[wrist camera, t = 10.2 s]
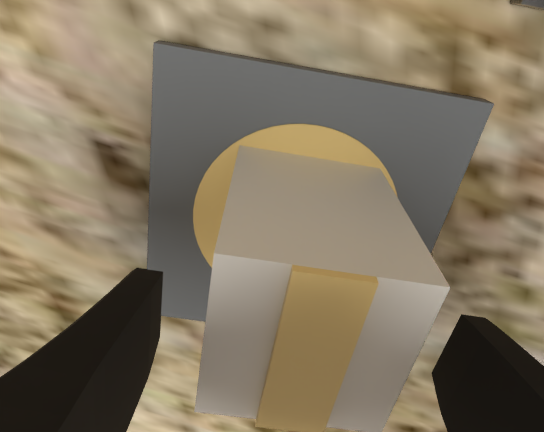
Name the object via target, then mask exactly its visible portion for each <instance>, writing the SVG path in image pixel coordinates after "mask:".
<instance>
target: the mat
mask: <svg viewBox="0 0 544 432" xmlns="http://www.w3.org/2000/svg"><path fill="white" fill-rule="evenodd" d="M493 106H494V104H493V103H491V102H489V101H487V100H485V99H481V98H475V97H470V96H464V95H458V94H453V93H447V92H442V91H436V90H431V89H425V88H420V87H414V86H408V85H403V84H397V83H392V82H386V81H381V80H375V79H370V78H364V77H359V76H353V75H347V74H342V73H336V72H331V71H325V70H320V69H314V68H309V67H303V66H298V65H292V64H286V63H281V62H275V61H270V60H264V59H259V58H253V57H248V56H242V55H236V54H231V53H225V52H220V51H214V50H209V49H203V48H198V47H192V46H187V45H181V44H175V43H170V42H164V41H157V42H154V48H153V82H152V117H151V151H150V185H149V220H148V254H147V269H148V270H155V271H162V272H163V287H162V305H161V316H167V317H174V318H182V319H190V320H197V321H205V322H206V314H207V306H208V297H209V289H210V281H211V273H212V265H213V257H214V251H215V247H216V242H217V238H218V234H219V230H220V225H221V221H222V217H223V213H224V209H225V204H226V200H227V196H228V192H229V187H230V183H231V179H232V175H233V171H234V166H235V162H236V158H237V154H238V149H239V145H242V146H248V147H254V148H260V149H266V150H272V151H278V152H284V153H290V154H296V155H302V156H308V157H314V158H320V159H327V160H333V161H339V162H345V163H351V164H357V165H363V166H369V167H375V168H380V169H381V171H382V172H383V174H384V176H385V177H386V179H387V181H388V183H389V184H390V186H391V188H392V189H393V191H394V193H395V194H396V196H397V198H398V200H399V201H400V203H401V205H402V206H403V208H404V210H405V211H406V213H407V215H408V216H409V218H410V220H411V222H412V223H413V225H414V227H415V228H416V230H417V232H418V233H419V235H420V237H421V239H422V240H423V242H424V244H425V245H426V247H427V249H428V250H429V252H430V254H431V252H432V249H433V247H434V245H435V242H436V240H437V237H438V235H439V233H440V230H441V228H442V226H443V223H444V221H445V219H446V216H447V214H448V212H449V209H450V207H451V204H452V202H453V200H454V197H455V195H456V193H457V190H458V188H459V186H460V183H461V181H462V179H463V176H464V174H465V171H466V169H467V167H468V164H469V162H470V160H471V157H472V155H473V153H474V150H475V148H476V146H477V143H478V141H479V139H480V136H481V134H482V131H483V129H484V127H485V124H486V122H487V120H488V117H489V115H490V113H491V110H492V108H493Z"/></svg>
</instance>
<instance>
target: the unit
mask: <svg viewBox="0 0 544 432" xmlns="http://www.w3.org/2000/svg"><path fill="white" fill-rule="evenodd" d="M510 3H511V4H516V5H521V6H526V7H531V8H536V9H541V10H544V0H511V2H510Z"/></svg>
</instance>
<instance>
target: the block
mask: <svg viewBox="0 0 544 432" xmlns="http://www.w3.org/2000/svg"><path fill="white" fill-rule="evenodd" d="M449 289H450V286H449V284H448V283H447V281H446V279H445V278H444V276H443V274H442V272H441V271H440V269H439V267H438V266H437V264H436V262H435V261H434V259H433V257H432V255H431V254H430V252H429V250H428V249H427V247H426V245H425V244H424V242H423V240H422V239H421V237H420V235H419V233H418V232H417V230H416V228H415V227H414V225H413V223H412V222H411V220H410V218H409V216H408V215H407V213H406V211H405V210H404V208H403V206H402V205H401V203H400V201H399V200H398V198H397V196H396V194H395V193H394V191H393V189H392V188H391V186H390V184H389V183H388V181H387V179H386V177H385V176H384V174H383V172H382V171H381V169H380V168H375V167H369V166H363V165H357V164H351V163H345V162H339V161H333V160H327V159H320V158H314V157H308V156H302V155H296V154H290V153H284V152H278V151H272V150H266V149H260V148H254V147H248V146H242V145H239V149H238V154H237V158H236V162H235V166H234V171H233V175H232V179H231V183H230V187H229V192H228V196H227V200H226V204H225V209H224V213H223V217H222V221H221V225H220V230H219V234H218V238H217V242H216V247H215V251H214V257H213V265H212V273H211V281H210V289H209V297H208V306H207V314H206V322H205V330H204V338H203V346H202V355H201V363H200V371H199V379H198V387H197V395H196V404H195V412H200V413H209V414H217V415H226V416H234V417H243V418H252V419H256V427H261V428H270V429H278V430H287V431H296V432H324V431H325V428H326V427H329V428H337V429H346V430H355V431H363V432H382V430H383V428H384V426H385V424H386V422H387V420H388V418H389V416H390V413H391V411H392V409H393V407H394V405H395V403H396V401H397V399H398V397H399V395H400V392H401V390H402V388H403V386H404V384H405V382H406V380H407V378H408V376H409V373H410V371H411V369H412V367H413V365H414V363H415V361H416V359H417V357H418V355H419V352H420V350H421V348H422V346H423V344H424V342H425V340H426V338H427V336H428V334H429V331H430V329H431V327H432V325H433V323H434V321H435V319H436V317H437V315H438V313H439V310H440V308H441V306H442V304H443V302H444V300H445V298H446V296H447V294H448V291H449Z"/></svg>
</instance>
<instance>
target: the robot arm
mask: <svg viewBox="0 0 544 432" xmlns="http://www.w3.org/2000/svg"><path fill="white" fill-rule="evenodd" d="M162 287H163V272H162V271H155V270H148V269H141V268H136V269H134V270H133V271H131V272H130V273H129V274H128V275H127V276H126V277H125V278H124V279H123V280H122V281H121V282H120V283H119V284H117V285H116V286H115V287H114V288H113V289H112V290H111V291H110V292H109V293H108V294H106V295H105V296H104V297H103V298H102V299H101V300H100V301H99V302H97V303H96V304H95V305H94V306H93V307H92V308H90V309H89V310H88V311H87V312H86V313H84V314H83V315H82V316H81V317H80V318H78V319H77V320H76V321H75V322H74V323H73V324H71V325H70V326H69V327H68V328H66V329H65V330H64V331H63V332H61V333H60V334H59V335H57V336H56V337H55V338H53V339H52V340H51V341H50V342H48V343H47V344H46V345H44V346H43V347H42V348H40V349H39V350H38V351H36V352H35V353H34V354H32V355H31V356H30V357H28V358H27V359H26V360H24V361H23V362H21V363H20V364H19V365H17V366H16V367H14V368H13V369H11V370H10V371H9V372H7V373H6V374H4V375H3V376H1V377H0V432H126V431H127V429H128V426H129V424H130V421H131V419H132V417H133V414H134V412H135V409H136V407H137V404H138V402H139V399H140V397H141V394H142V392H143V389H144V387H145V384H146V382H147V379H148V377H149V373H150V370H151V366H152V363H153V359H154V356H155V352H156V349H157V345H158V342H159V338H160V324H161V305H162ZM432 376H433V381H434V386H435V390H436V395H437V399H438V403H439V407H440V411H441V414H442V417H443V420H444V423H445V426H446V428H447V431H448V432H544V366H543V365H542V364H540V363H539V362H538V361H537V360H536V359H535V358H534V357H532V356H531V355H530V354H529V353H528V352H527V351H525V350H524V349H523V348H522V347H521V346H520V345H518V344H517V343H516V342H515V341H514V340H513V339H511V338H510V337H509V336H508V335H507V334H505V333H504V332H503V331H502V330H500V329H499V328H498V327H497V326H495V325H494V324H493V323H492V322H490V321H489V320H488V319H486V318H482V317H475V316H469V315H462V314H461V316H460V318H459V320H458V322H457V324H456V326H455V328H454V330H453V332H452V334H451V336H450V338H449V340H448V342H447V344H446V346H445V348H444V350H443V352H442V354H441V356H440V358H439V360H438V362H437V364H436V365H435V367H434V369H433V371H432Z"/></svg>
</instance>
